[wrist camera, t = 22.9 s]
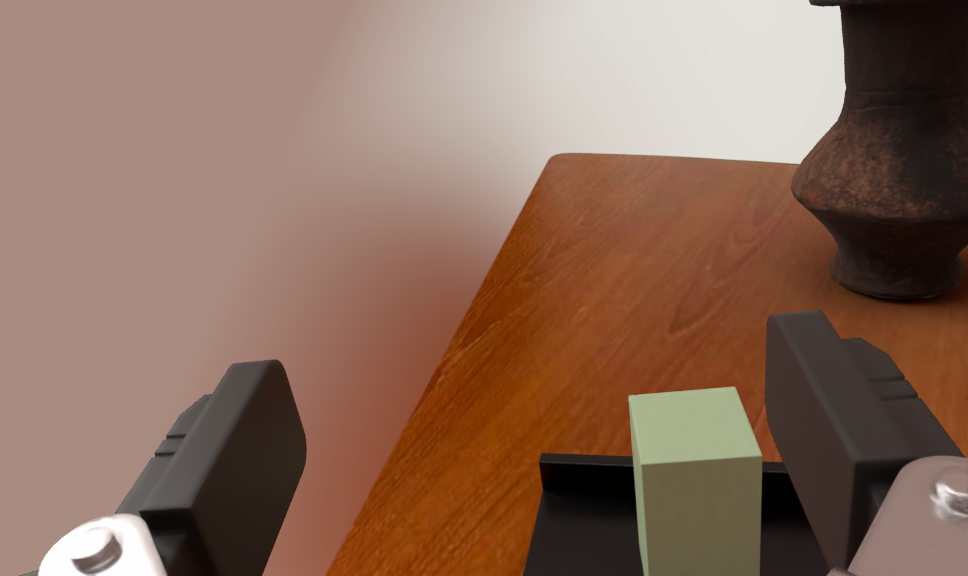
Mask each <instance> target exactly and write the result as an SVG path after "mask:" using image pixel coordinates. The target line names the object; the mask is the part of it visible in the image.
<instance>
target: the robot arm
mask: <svg viewBox="0 0 968 576" xmlns="http://www.w3.org/2000/svg"><path fill="white" fill-rule="evenodd" d="M765 405H766V413H767V419H768V424H769V428H770V431H771V434H772V437H773V439H774V441H775V444H776V446H777V448H778V451H779V453H780V455H781V458H782V460H783V462H784V465H785V467H786V469H787V472H788V474H789V476H790V479H791V481H792V483H793V486H794V488H795V490H796V493H797V495H798V497H799V500H800V502H801V504H802V507H803V509H804V511H805V514H806V516H807V518H808V521H809V523H810V525H811V528H812V530H813V532H814V535H815V537H816V539H817V542H818V544H819V546H820V549H821V551H822V553H823V556H824V558H825V560H826V563H827V565H828V567H829V570H830V572H829V573H828V575H827V576H968V459H967V458H965V456H964V455H963V454H962V452H961V451H960V450H959V448H958V447H957V446H956V444H955V443H954V442H953V440H952V439H951V438H950V436H949V435H948V434H947V432H946V431H945V430H944V428H943V427H942V426H941V424H940V423H939V422H938V420H937V419H936V418H935V416H934V415H933V414H932V412H931V411H930V410H929V408H928V407H927V406H926V404H925V403H924V402H923V400H922V399H921V398H918V394H917V392H916V391H915V390H914V388H913V387H912V386H911V384H910V383H909V382H908V380H906V381H905V378H904V375H903V374H902V372H901V371H900V370H899V368H898V367H897V366H896V364H895V363H894V362H893V360H892V359H891V358H890V356H889V355H888V354H886V353H885V352H883V351H881V350H880V349H878V348H876V347H875V346H873V345H872V344H870V343H868V342H867V341H865V340H863V339H862V338H852V339H841V338H840V337H839V335H838V334H837V332H836V331H835V329H834V328H833V326H832V325H831V323H830V322H829V320H828V319H827V317H826V316H825V314H824V313H823V312H822V311H821V310H810V311H800V312H789V313H778V314H771V315H770V316H769V318H768V321H767V336H766V376H765ZM166 437H167V439H166V440H163V442H162V443H161V445H160V446H159V448H158V449H157V451H156V452H155V458H151V460H150V461H149V463H148V464H147V466H146V467H145V469H144V470H143V472H142V473H141V475H140V476H139V478H138V479H137V481H136V482H135V484H134V485H133V487H132V488H131V490H130V491H129V493H128V494H127V496H126V497H125V499H124V500H123V502H122V503H121V505H120V506H119V508H118V509H117V511H116V512H115V514H113V515H109V516H105V517H101V518H98V519H95V520H93V521H90V522H88V523H86V524H84V525H82V526H80V527H78V528H77V529H75V530H73V531H72V532H70V533H69V534H67V535H66V536H65V537H63V538H62V539H61V540H60V541H59V542H58V543H57V544H56V545H54V546H53V548H52V549H51V550H50V551H49V552H48V553H47V555H46V557H45V558H44V559H43V562H42V564H41V566H40V569H39V570H36V571H33V572H30V573H27V574H23V575H20V576H262V574H263V572H264V569H265V567H266V564H267V562H268V559H269V557H270V554H271V552H272V549H273V546H274V544H275V541H276V539H277V536H278V534H279V531H280V529H281V526H282V523H283V521H284V518H285V516H286V513H287V511H288V508H289V506H290V503H291V501H292V498H293V495H294V493H295V491H296V488H297V486H298V483H299V480H300V478H301V475H302V473H303V470H304V467H305V462H306V438H305V433H304V429H303V426H302V423H301V419H300V416H299V413H298V410H297V407H296V403H295V401H294V397H293V394H292V391H291V387H290V384H289V381H288V378H287V375H286V372H285V369H284V367H283V365H282V364H281V362H280V361H278V360H264V361H255V362H243V363H234V364H232V365H231V366H230V367H229V368H228V370H227V372H226V373H225V375H224V376H223V378H222V380H221V381H220V383H219V384H218V386H217V387H216V389H215V391H214V392H213V394H210V395H204V396H203V397H201V398H200V399H199V400H198V401H197V402H195V403H194V404H193V405H192V406H190V407H189V408H188V409H187V410H185V412H183V413H182V414H181V415H180V416H179V418H178V419H177V421H176V422H175V424H174V425H173V427H172V428H171V430H170V431H169V433H168V434H167V436H166Z"/></svg>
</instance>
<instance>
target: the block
mask: <svg viewBox="0 0 968 576" xmlns="http://www.w3.org/2000/svg"><path fill="white" fill-rule="evenodd" d="M629 410H630V424H631V438H632V452H633V465H634V479H635V493H636V507H637V521H638V534H639V546H640V552H641V559H642V565H643V572H644V576H760V537H761V496H762V453H761V451H760V448H759V446H758V443H757V441H756V438H755V436H754V433H753V431H752V428H751V425H750V423H749V420H748V418H747V415H746V413H745V410H744V408H743V405H742V403H741V400H740V398H739V395H738V393H737V390H736V388H735V387H725V388H713V389H701V390H689V391H677V392H665V393H653V394H641V395H630V396H629Z"/></svg>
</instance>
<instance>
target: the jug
mask: <svg viewBox="0 0 968 576" xmlns="http://www.w3.org/2000/svg"><path fill="white" fill-rule="evenodd" d="M809 1H810V4H811V5H816V6H840V10H841V21H842V34H843V45H844V64H845V83H846V91H845V98H844V105H843V108H842V111H841V114H840V116H839V119H838V121H837V122H836V123H835V124H834V125H833V126H832V127H831V129H830V130H829V131H828V132H827V133H826V134H825V135H824V136H823V137H822V138H821V139H820V140H819V142H818V143H817V144H816V145H815V147H814V148H813V149H812V150H811V151H810V152H809V154H808V155H807V156H806V157H805V158H804V159H803V161H802V162H801V164H800V165H799V167H798V169H797V170H796V172H795V174H794V176H793V179H792V186H791V190H792V193H793V195H794V197H795V198H796V199H797V201H798V202H800V203H801V204H802V205H803V206H804V207H805V208H806V209H808V210H809V211H810V212H811V213H812V214H813V215H814V216H815V217H816V218H817V219H818V220H820V221H821V222H822V223H823V224H824V226H825V227H826V228H827V229H828V230H829V232H830V233H831V234H832V236H833V237H834V239H835V241H836V242H837V244H838V247H839V249H840V250H839V251H838V252H837V254H836V255H835V256H834V258H833V259H832V261H831V263H830V273H831V275H832V277H833V279H834V280H835V281H836V282H838V283H840V284H841V285H843V286H844V287H845V288H849V289H852V290H855V291H858V292H860V293H863V294H869V295H871V296H875V297H880V298H892V299H907V298H928V297H933V296H935V295H939V294H943V293H947V292H950V291H953V290H952V289H955V288H956V286H957V285H958V284H959V283H960V280H961V278H962V275H963V270H964V267H963V264H962V262H961V261H960V259H959V257H958V254H959V253H960V252H961V251H962V250H963V249H964V248H965V247H966V246H967V245H968V0H809Z"/></svg>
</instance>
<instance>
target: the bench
mask: <svg viewBox="0 0 968 576" xmlns="http://www.w3.org/2000/svg"><path fill="white" fill-rule="evenodd" d="M539 466H540V473H541V480H542V487H543V492H542V496H541V500H540V505H539V509H538V513H537V517H536V522H535V526H534V530H533V534H532V538H531V543H530V547H529V551H528V555H527V560H526V564H525V568H524V572H523V576H644V572H643V565H642V559H641V552H640V546H639V534H638V521H637V507H636V493H635V479H634V465H633V456H608V455H582V454H557V453H541V456H540V460H539ZM829 572H830V570H829V567H828V565H827V563H826V560H825V558H824V556H823V553H822V551H821V549H820V546H819V544H818V542H817V539H816V537H815V535H814V532H813V530H812V528H811V525H810V523H809V521H808V518H807V516H806V514H805V511H804V509H803V507H802V504H801V502H800V500H799V497H798V495H797V493H796V490H795V488H794V486H793V483H792V481H791V479H790V476H789V474H788V472H787V469H786V467H785V465H784V462H762V496H761V537H760V576H827V575H828V573H829Z"/></svg>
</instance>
